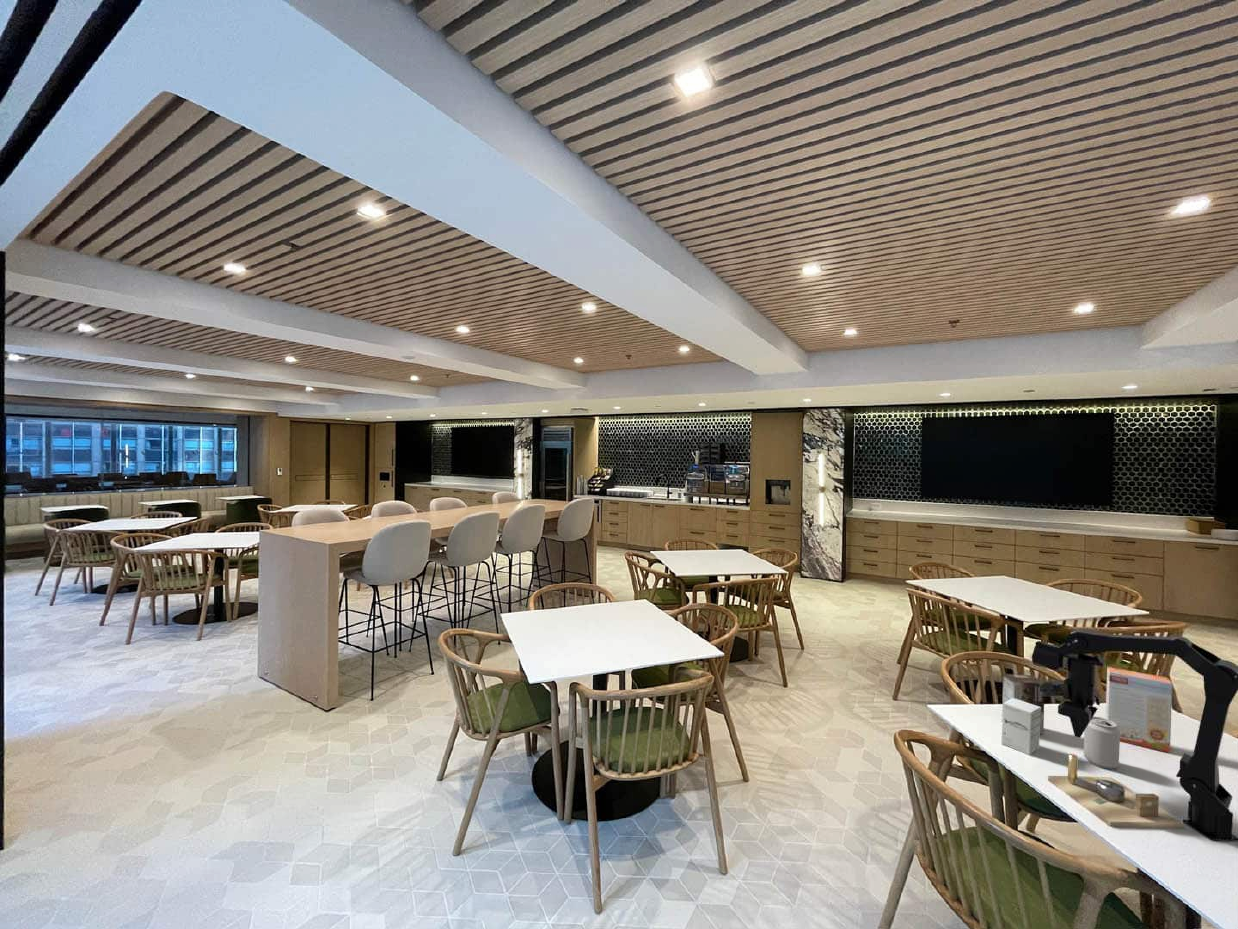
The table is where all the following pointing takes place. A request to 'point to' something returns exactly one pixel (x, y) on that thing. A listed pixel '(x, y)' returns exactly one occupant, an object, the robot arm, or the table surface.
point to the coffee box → (1024, 692)
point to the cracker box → (1140, 707)
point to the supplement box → (1021, 725)
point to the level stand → (1118, 805)
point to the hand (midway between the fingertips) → (1078, 735)
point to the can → (1102, 743)
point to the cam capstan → (1101, 787)
